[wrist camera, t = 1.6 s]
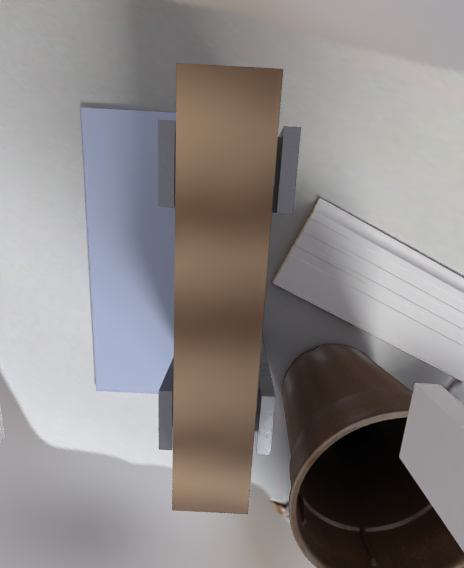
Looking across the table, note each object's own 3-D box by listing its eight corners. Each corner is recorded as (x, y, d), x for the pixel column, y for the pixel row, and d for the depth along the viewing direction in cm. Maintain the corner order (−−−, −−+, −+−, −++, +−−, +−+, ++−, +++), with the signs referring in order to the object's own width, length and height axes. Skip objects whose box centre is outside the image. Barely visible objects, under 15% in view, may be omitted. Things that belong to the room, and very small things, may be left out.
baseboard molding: (324, 186, 33) (271, 280, 36) (332, 183, 30) (274, 286, 33) (547, 311, 36) (483, 390, 38) (574, 320, 33) (503, 404, 36)
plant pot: (412, 336, 36) (548, 429, 20) (379, 449, 40) (473, 603, 24) (278, 318, 36) (313, 398, 20) (257, 434, 39) (272, 579, 24)
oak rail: (244, 446, 26) (247, 514, 20) (186, 443, 26) (172, 510, 20) (268, 111, 20) (283, 68, 14) (193, 107, 20) (176, 63, 14)
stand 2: (256, 363, 37) (269, 455, 23) (187, 360, 37) (158, 449, 23) (259, 325, 36) (275, 396, 22) (188, 321, 36) (158, 390, 22)
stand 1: (268, 214, 33) (292, 213, 19) (190, 210, 33) (158, 206, 19) (271, 166, 32) (301, 127, 18) (192, 161, 32) (157, 119, 18)
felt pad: (177, 392, 38) (176, 394, 38) (98, 388, 38) (96, 390, 37) (180, 114, 31) (179, 112, 30) (83, 109, 31) (80, 107, 30)
